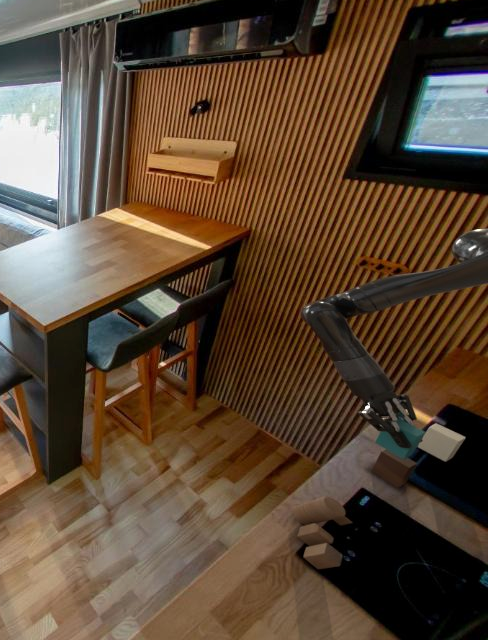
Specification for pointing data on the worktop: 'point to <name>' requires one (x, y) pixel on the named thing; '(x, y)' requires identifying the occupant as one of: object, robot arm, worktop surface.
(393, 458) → the brown rectangular block
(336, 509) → the wooden block set
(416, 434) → the tile
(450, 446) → the tile
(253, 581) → the worktop surface
